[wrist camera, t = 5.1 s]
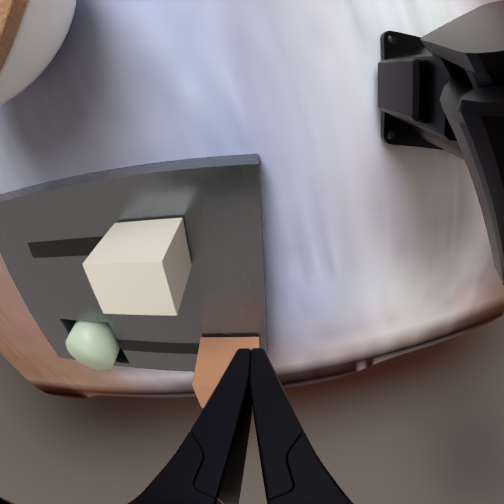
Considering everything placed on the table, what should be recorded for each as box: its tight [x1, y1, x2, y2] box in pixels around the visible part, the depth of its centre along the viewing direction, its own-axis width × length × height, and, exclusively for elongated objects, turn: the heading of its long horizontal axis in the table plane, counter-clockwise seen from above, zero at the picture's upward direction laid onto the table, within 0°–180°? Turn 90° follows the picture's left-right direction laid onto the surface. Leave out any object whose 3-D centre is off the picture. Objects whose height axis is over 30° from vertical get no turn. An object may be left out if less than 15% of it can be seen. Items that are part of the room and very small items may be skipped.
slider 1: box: [82, 218, 192, 316], centre depth 14 cm, size 4×3×4 cm
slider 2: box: [192, 337, 260, 408], centre depth 19 cm, size 4×3×4 cm
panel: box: [0, 154, 267, 371], centre depth 19 cm, size 20×16×2 cm
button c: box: [66, 320, 120, 371], centre depth 21 cm, size 4×4×3 cm
